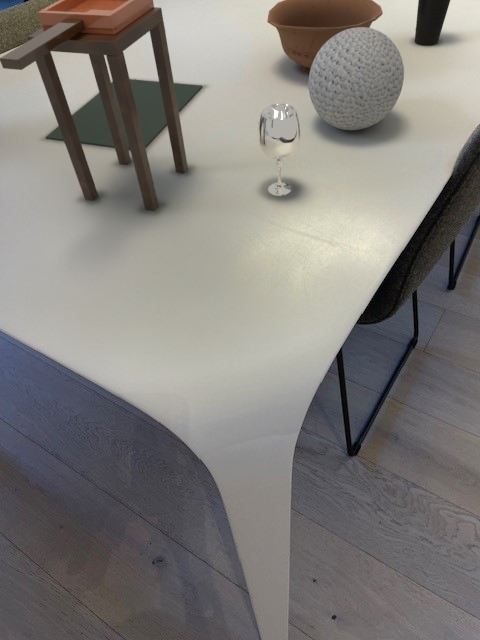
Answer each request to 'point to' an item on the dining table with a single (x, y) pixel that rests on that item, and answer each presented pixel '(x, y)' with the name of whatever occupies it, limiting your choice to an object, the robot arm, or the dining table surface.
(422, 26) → the drinking cup
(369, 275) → the dining table surface
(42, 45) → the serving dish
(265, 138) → the wineglass
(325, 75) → the decorative ball
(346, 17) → the bowl
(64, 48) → the stand
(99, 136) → the place mat
